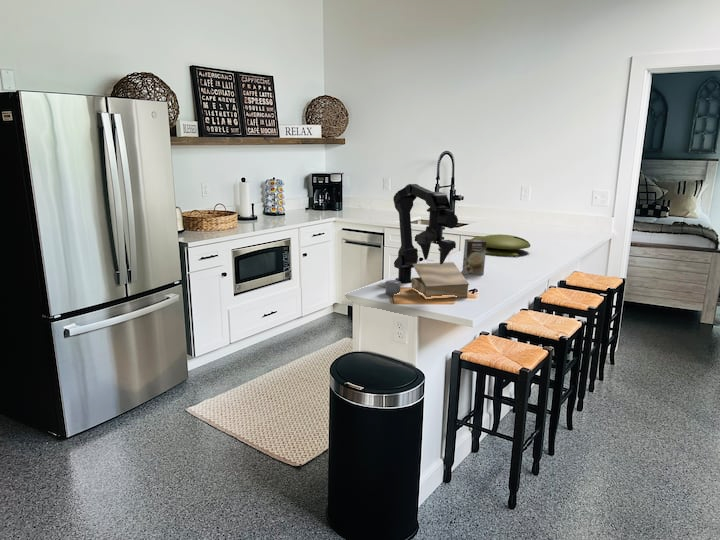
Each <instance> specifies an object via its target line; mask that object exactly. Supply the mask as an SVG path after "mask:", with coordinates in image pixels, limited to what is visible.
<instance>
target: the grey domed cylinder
mask: <svg viewBox="0 0 720 540" xmlns="http://www.w3.org/2000/svg"><path fill="white" fill-rule="evenodd" d="M401 285H402V283H401V282H400V281H397V280H396V279H395V280H394V279H389V280H386V281H385V295H387V296H390V297H392V295H394V294H397V293H399V292H400V293H401Z"/></svg>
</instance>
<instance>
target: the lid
mask: <svg viewBox="0 0 720 540" xmlns="http://www.w3.org/2000/svg"><path fill="white" fill-rule="evenodd" d="M413 266H414V270H415V271H416V273H417V275H418V276H419V277H420V278H421V280H422V282H423V283H424V285H425V287H442V286H461V285H468V286H470V283H469V282H468V280H467V279H466V277H464V274H462V273H463V272H461V271H460V269H459V268H458V267H457V265H456V264H455V262H454V261H449V262H443V264H440V262H425V263H422V262H421V263H417V264H413Z"/></svg>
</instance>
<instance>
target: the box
mask: <svg viewBox="0 0 720 540" xmlns="http://www.w3.org/2000/svg"><path fill="white" fill-rule="evenodd" d="M411 279H412V282H411V287H412V288H414V289H416V290H418V291H419V292H421V293H423V294H424V295H425V296H426V297H431V296H442V295H455V296H457V298H456V299H460V298H468V291H469V285H461V286H442V287H425V285H424V283H423V282H422V280H421V278H420V276H419V277H411Z"/></svg>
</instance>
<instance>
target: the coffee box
mask: <svg viewBox="0 0 720 540" xmlns="http://www.w3.org/2000/svg"><path fill="white" fill-rule="evenodd" d="M486 250H487V249H486V241H484V240H473V239H472V238H471V239H468V238H467V239H466V238H465V239H464V249H463V259H462V272H461V273H463V275H464V274H465V275H475V276H476V275H477V276H478V275H480V276H481V275H484V274H485V262H486V255H485V253H486Z"/></svg>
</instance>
